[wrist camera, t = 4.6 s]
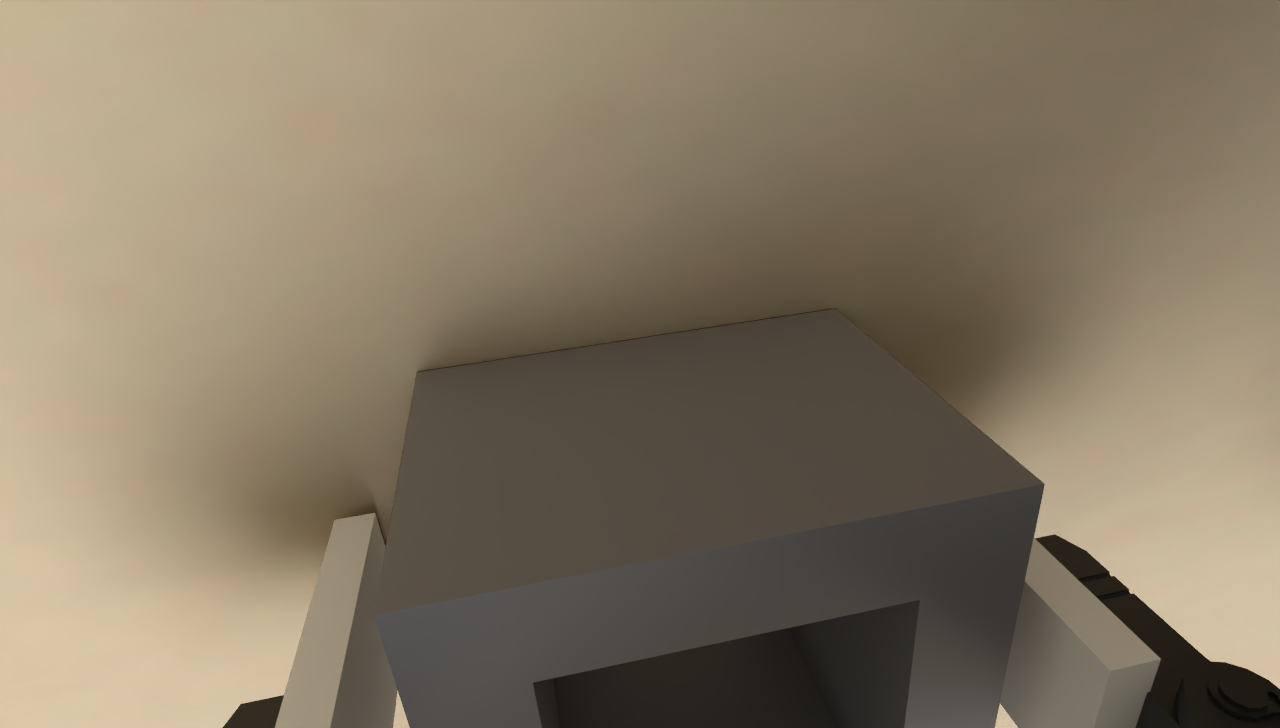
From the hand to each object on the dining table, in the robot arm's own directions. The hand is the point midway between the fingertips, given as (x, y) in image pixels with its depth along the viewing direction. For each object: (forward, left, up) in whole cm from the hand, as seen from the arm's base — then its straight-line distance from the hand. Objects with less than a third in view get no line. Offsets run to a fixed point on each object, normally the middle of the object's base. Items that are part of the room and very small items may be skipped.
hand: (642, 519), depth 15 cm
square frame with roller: (0, 0, 0) cm, 0 cm away
